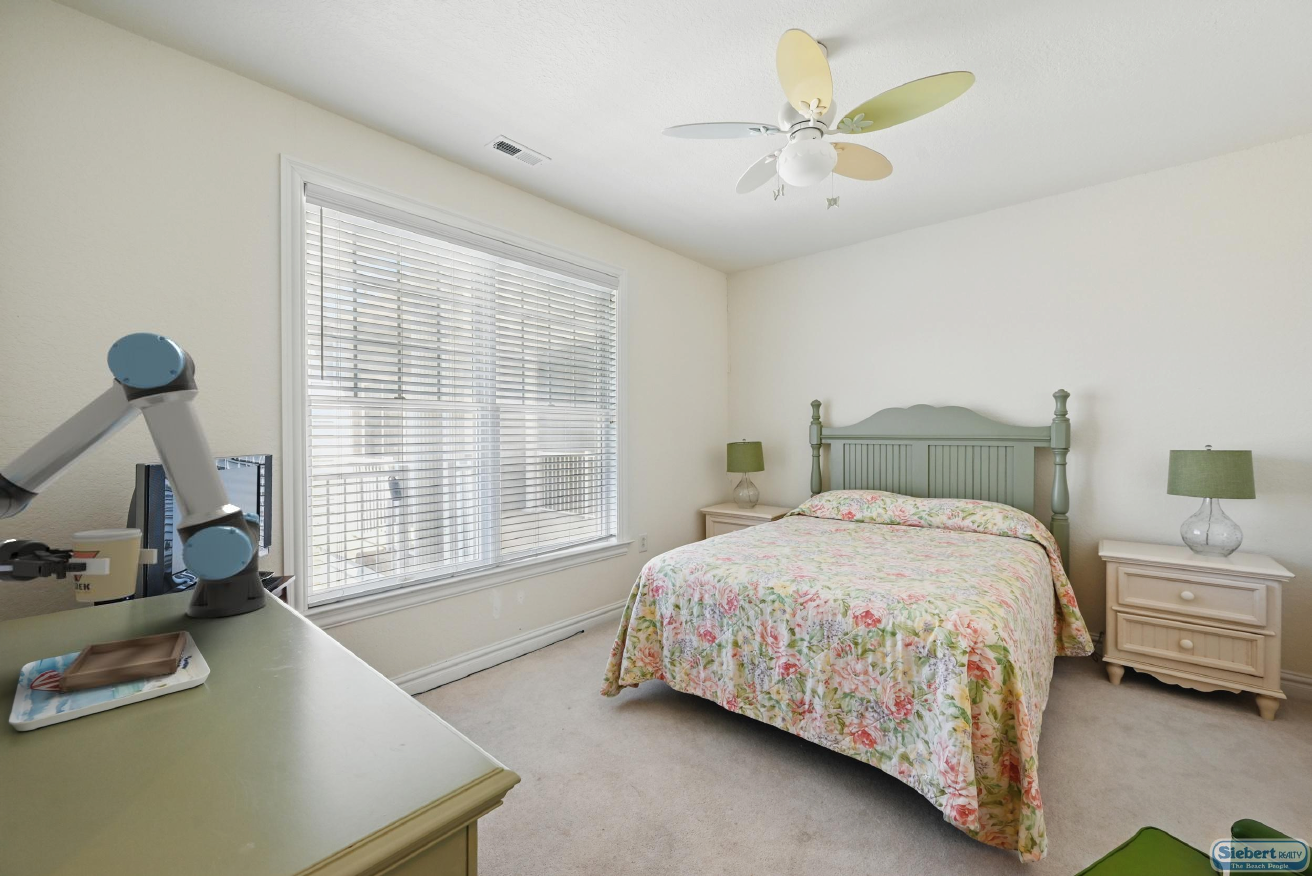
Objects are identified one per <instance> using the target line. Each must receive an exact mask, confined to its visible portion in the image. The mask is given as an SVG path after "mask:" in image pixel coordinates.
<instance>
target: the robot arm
mask: <svg viewBox="0 0 1312 876" xmlns="http://www.w3.org/2000/svg"><path fill="white" fill-rule="evenodd" d="M106 357H107V358H106V361H107V365H108V368H109V371H110V372H111V373H112V375H113V377H114V378H113V379H112V386H110V387H109V388H108V389H107V390H106V391H104V392H103V393H101V394H100V395H98V397H96V398H95V399H94V400H92V401H91V402H89V403H88V404H87V405H86V406H84V407H82V409H80V410H78V411H77V412H76V413H75V414H73V415H72V416H71V417H69V418H68V419H66V420H65V421H64V422H63V423H61V424H60V425H58V426H57V427H55V428H54V429H53V430H52V431H50V432H49V433H48V434H46V436H44V437H43V438H41V439H40V440H39V441H37V442H36V443H35V444H33V445H32V446H31V447H29V448H28V449H27V450H25V451H24V452H23V453H22V454H20V455H19V456H17V457H16V458H15V459H13V460H12V461H11V462H9V463H7V465H5V466H4V467H2V468H1V469H0V520H3V519H9V518H12V517H15V516H17V515H18V514H21V513H23V512H24V511H25V510H27V509H28V508H29V506H30V505H31V503H32V500H33V499H35V498H36V497H37V496H38V495H39V494H41V493H42V492H43V491H44V490H45V489H48V487H50V486H51V485H52V484H53V483H54V482H56V481H57V480H58V479H60V478H61V477H63V476H64V475H65V474H66V473H68V472H69V471H70V470H71V469H73V468H74V467H75V466H76V465H78V464H79V463H81V462H82V461H83V460H84V459H86V458H87V457H88V456H89V455H91V454H92V453H93V452H95V450H97V449H99V447H102V445H104V444H105V443H106V442H108V440H110V439H111V438H113V437H114V436H115V435H116V434H117V433H119V432H120V431H121V430H123V429H124V428H126V426H128V425H129V424H131V423H132V422H133V421H134V420H136V419H137V418H138V417H139V416H141V415H142V414H143V417H144V421H145V422H146V426H147V428H148V431H149V434H150V435H151V439H152V441H153V445H154V447H155V450H156V452H157V454H158V458H159V460H160V463H161V465H162V468H163V471H164V474H165V477H166V478H167V480H168V483H169V487H170V489H171V492H172V494H173V496H174V497H173V498H174V500H175V502H176V504H177V508H178V510H179V513H180V516H181V518H180V521H179V523H178V524H177V525H176V526H175V528H176V532H177V533H178V536H179V539H180V542H181V544H182V553H181V557H182V558H181V559H182V562H183V565H184V567H185V568H186V570H187V571H188V572H190V574H192V575H194V576H196V577H197V582H196V584H195V587H194V589H193V591H192V593H191V597H190V599H189V601H188V603H187V612H186V613H187V616H188V617H193V618H199V619H200V618H205V619H206V618H218V617H226V616H236V615H238V614H244V613H249V612H252V611H256V610H258V609H261V608H263V607H265V606H266V605H267V593H266V589H265V587H264V585H263V582H262V580H261V577H260V574H259V566H260V565H259V564H260V563H259V561H260V560H259V557H260V554H259V553H260V551H259V550H260V527H261V522H260V516H259V514H258V513H255V512H245V513H244V512H243V510H242V508H241V507H240V506H236V505H234V504H232V503H231V501H230V499H229V496H228V494H227V490H226V488H225V486H224V481H223V479H222V477H221V474H220V471H219V468H218V466H217V462H216V460H215V458H214V455H213V452H212V450H211V447H210V444H209V441H208V439H207V436H206V433H205V431H204V428H203V425H202V422H201V419H200V417H199V414H198V411H197V409H196V406H195V403H194V400H195V398H196V397H197V396H198V395H199V393H200V391H199V389H198V385H197V384H196V383H197V382H196V381H195V380H196V379H195V375H196V365H195V362H194V359H193V358H192V356H191V355H190V354H189V353H188V352H187V351H186V350H184V349H183V348H182V347H180V345H178V344H177V342H175V341H174V340H173V339H170V338H169V337H166V336H164V335H162V334H161V335H160V334H156V333H153V332H134V333H131V334H127V335H125V336H123V337H121V338H119V339H118V340H116V341H115V342H114V343H113V344H112V345H111V347H110V348H109V350H108V352H107V356H106ZM109 564H110V558H73V548H67V549H66V548H62V547H60V548H59V547H58V548H51V547H50V546H49V545H48V544H46V543H45V542H44V541H41V540H35V539H0V582H31V581H33V580H37V578H49V577H52V575H54V576H56V577H55V578H56V580H63V579H67V574H68V575H74V574H95V575H105V574H109ZM139 564H142V565H144V564H145V565H147V564H148V565H149V564H152V565H154V564H158V548H140V553H139V562H138V565H139Z"/></svg>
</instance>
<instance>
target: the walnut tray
mask: <svg viewBox="0 0 1312 876" xmlns="http://www.w3.org/2000/svg"><path fill="white" fill-rule="evenodd" d="M185 642H186V643H187V630H181V631H175V632H167V633H161V634H154V635H149V636H148V635H147V636H139V637H134V638H126V639H120V640H113V641H107V642H106V641H105V642H99V643H92V644H86V645H85V647H84V648H83V649H82V650H81V651H80V652H79V654H78V655H77V656H76V657H75V658H74V660H73V661H72V662H71V663H70V665H69V666H68V667H67V668H66V669H65V670H64V671H63V673H62V674H61V675H60V676H59V679H58V693H59V692H65V693H71V692H76V691H81V690H82V691H83V690H87V689H88V690H89V689H93V688H97V687H98V688H99V687H104V686H108V685H114V684H120V683H126V682H132V681H137V680H143V679H149V678H154V677H153V676H155V677H157V676H156V675H160V676H163V675H162V674H166V675H168V674H167V673H171V674H176V673H177V671H178V667H179V665H180V662H181V659H182V656H183V653H184V650H185V647H184V645H185ZM185 646H186V645H185ZM183 649H184V650H183ZM182 652H183V653H182ZM181 655H182V656H181ZM180 658H181V659H180ZM179 661H180V662H179ZM178 664H179V665H178ZM175 672H176V673H175ZM148 677H149V678H148ZM70 691H71V692H70Z"/></svg>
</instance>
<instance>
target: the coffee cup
mask: <svg viewBox="0 0 1312 876" xmlns="http://www.w3.org/2000/svg"><path fill="white" fill-rule="evenodd" d="M142 536H143V531H142V532H141V529H140V528H135V527H134V528H132V527H129V528H127V527H125V528H105V529H95V530H93V529H92V530H86V531H80V532H75V533H73V537H71V542H72V549H73V558H110V564H109V574H105V575H95V574H73V575H74V577H73V578H74V590H75V591H74V592H75V598H76V599H75V601H77V602H80V603H92V602H93V603H94V602H96V603H97V602H104V601H112V600H117V599H122V598H126V597H130V596H132V595H134V594H135V592H136V585H137V577H138V569H139V564H138V562H139V553H140V549H141V542H142V541H141V540H142Z"/></svg>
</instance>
